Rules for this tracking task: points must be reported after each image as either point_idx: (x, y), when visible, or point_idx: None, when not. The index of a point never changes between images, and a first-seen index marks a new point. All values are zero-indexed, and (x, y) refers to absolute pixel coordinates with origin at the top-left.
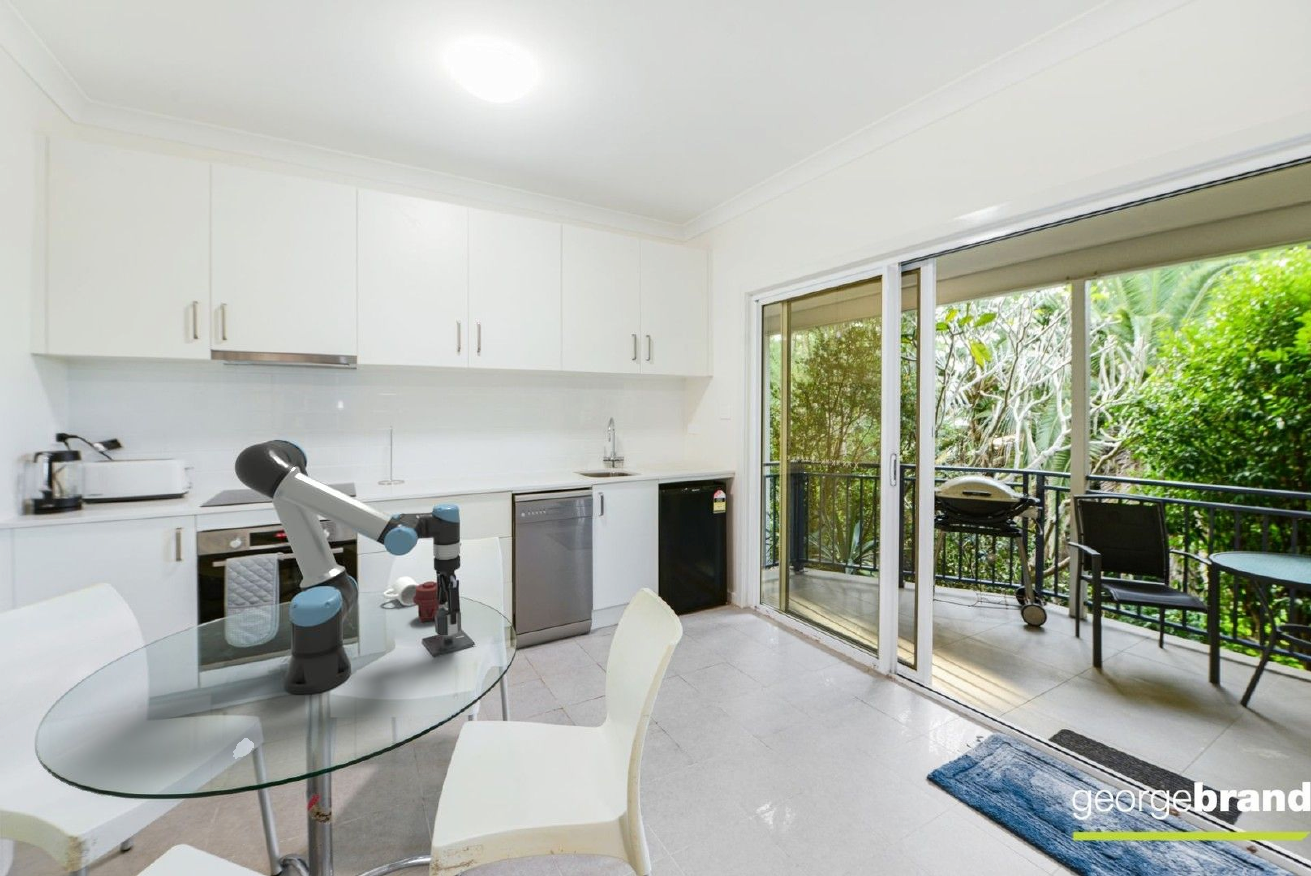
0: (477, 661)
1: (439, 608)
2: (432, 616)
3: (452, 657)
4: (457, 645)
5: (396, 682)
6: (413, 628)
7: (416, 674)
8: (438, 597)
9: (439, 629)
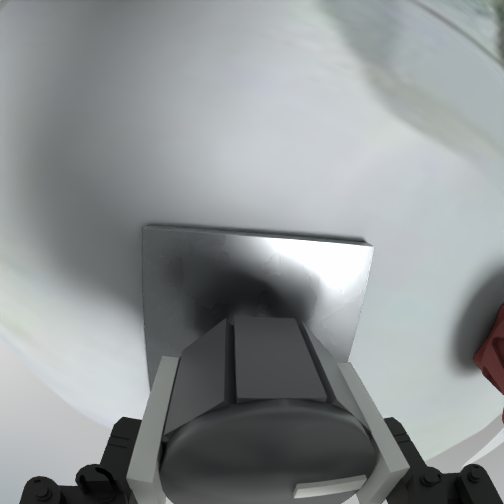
0: (30, 344)
1: (389, 451)
2: (488, 348)
3: (98, 293)
4: (167, 354)
5: (53, 30)
6: (489, 262)
7: (50, 106)
8: (463, 496)
9: (218, 342)
